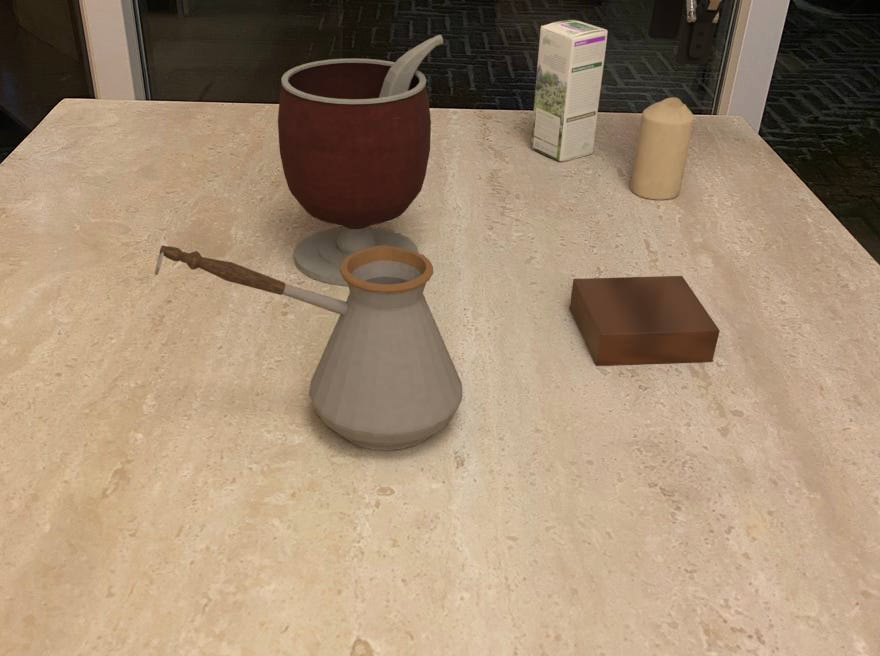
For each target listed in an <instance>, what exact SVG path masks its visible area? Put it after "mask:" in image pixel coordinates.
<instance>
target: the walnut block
mask: <svg viewBox="0 0 880 656" xmlns="http://www.w3.org/2000/svg"><path fill="white" fill-rule="evenodd" d="M568 309H569V311H570V313H571V315H572V317H573V320H574V321H575V324H576V325H577V328H578V330H579V333H580V335H581V337H582V339H583V341H584V343H585V345H586V348H587V350H588V352H589V354H590V356H591V358H592V360H593V362H594V364H595V366H596V367H598V366H599V367H600V366H603V367H604V366H624V365H625V366H628V365H629V366H630V365H657V364H683V363H685V364H686V363H709V362H710V363H712V362H713V361H714V356H715V352H716V348H717V344H718V339H719V336H720V329H719V327H718V325H717V324H716V323H715V321H714V320H713V318H712V317H711V315H709V313H708V311H707V309H706V308H705V307H704V306H703V304H702V303H701V301H700V300H699V298H698V296H697V295H696V294H695V292H694V291H693V289H692V288H691V287H690V285H689V284H688V281H686V279H685V277H684V276H683V275H666V276H665V275H662V276H658V275H657V276H630V277H629V276H627V277H625V276H624V277H593V278H590V277H589V278H588V277H587V278H573V279H572V286H571V293H570V301H569V308H568Z"/></svg>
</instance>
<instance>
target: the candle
mask: <svg viewBox="0 0 880 656" xmlns="http://www.w3.org/2000/svg"><path fill="white" fill-rule="evenodd" d="M694 120H695V116H694V114H693V111H691V110H690V109H689V108H688V106H687V104H686V103H683V101H682V100H681V99H680V98H678V97H674V96H673V97H667V98H664V99H663V100H660V101H657V102H655V103H653V104H651V105H649V106H648V107H646V108H645V109H644V110H642V113H641V119H640V124H639V131H638V138H637V143H636V144H637V145H636V150H635V155H634V156H635V157H634V161H633V162H634V164H633V169H632V175H631V182H630V190H631V192H632V193H633V194H635V195H637V196H638V197H641V198H645V199H649V200H657V201H658V200H660V201H661V200H670V199H674V198H676V197H678V196H679V194H680V192H681V188H682V182H683V179H684V172H685V168H686V162H687V158H688V152H689V147H690V141H691V136H692V130H693V125H694Z"/></svg>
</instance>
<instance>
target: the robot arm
mask: <svg viewBox="0 0 880 656" xmlns="http://www.w3.org/2000/svg"><path fill="white" fill-rule="evenodd" d="M685 1H686V19H684V20H682V17H683V12H684V6H685ZM723 1H724V0H700V2H699V3H698V4H697V0H653V2H652V8H651V13H650V20H649V26H648V31H647V35H648V36H649V38H651V39H675V38H677V37H678V36H679V40H678V43H677V49H676V55H675V62H676V63H677V64H678V65H706V64H708V62H709V59H710V55H711V54H710V53H711V49H712V45H713V44H712V43H713V40H714V35H715V30H716V25H717V23H718V21H719V17H720V11H721V9H722V7H723V5H724V2H723ZM681 22H682V23H681ZM680 27H681V28H680ZM679 33H680V34H679Z"/></svg>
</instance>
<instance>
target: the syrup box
mask: <svg viewBox="0 0 880 656" xmlns="http://www.w3.org/2000/svg"><path fill="white" fill-rule="evenodd" d="M539 30H540V31H539V32H540V33H539V40H538V41H539V42H538V43H539V44H538V54H537V65H536V67H537V68H536V78H535V79H536V80H535V88H534V89H535V90H534V102H533V111H532V112H533V114H532V126H531V137H530V149H531V148H532V149H531V150H533V151H536V152H538V153H540V154H542V155H545V156H546V157H549V158H551V159H553V160H555V161H557V162H566V161H571V160H575V159H578V158H583V157H585V156H586V157H587V156H589V155H593V152H594V147H595V138H596V128H597V120H598V112H599V105H600V97H601V88H602V80H603V74H604V65H605V58H606V51H607V50H606V49H607V41H608V33H609V32H608V29H605V28H603V27H599V26H596V25H593V24H589V23H586V22H584V21H580V20H578V19H564V20H559V21H554V22H551V23H548V24H544V25H541V26H540V29H539Z"/></svg>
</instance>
